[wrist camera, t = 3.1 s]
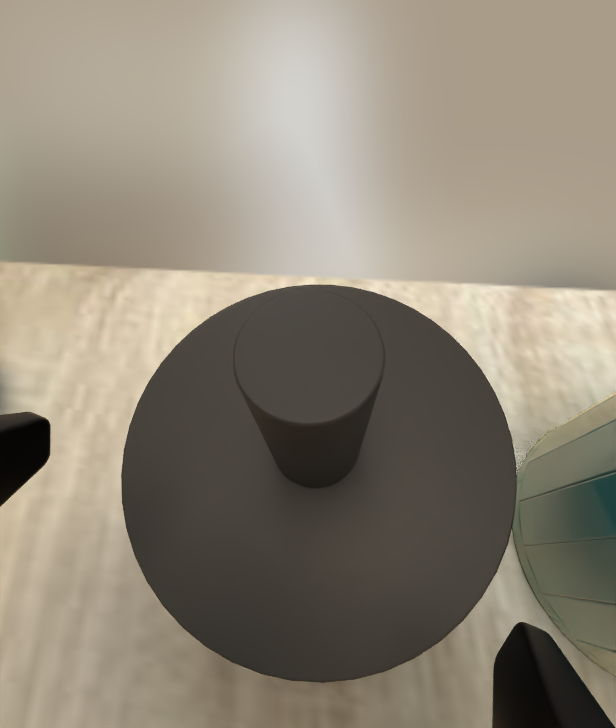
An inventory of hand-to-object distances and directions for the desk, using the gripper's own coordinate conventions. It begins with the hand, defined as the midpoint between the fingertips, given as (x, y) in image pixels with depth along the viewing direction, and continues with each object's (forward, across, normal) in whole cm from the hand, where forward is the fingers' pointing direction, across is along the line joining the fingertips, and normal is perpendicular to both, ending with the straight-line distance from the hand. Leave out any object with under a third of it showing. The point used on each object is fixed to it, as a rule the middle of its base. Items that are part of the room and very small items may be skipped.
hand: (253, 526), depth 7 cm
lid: (+5, 0, +1) cm, 6 cm away
